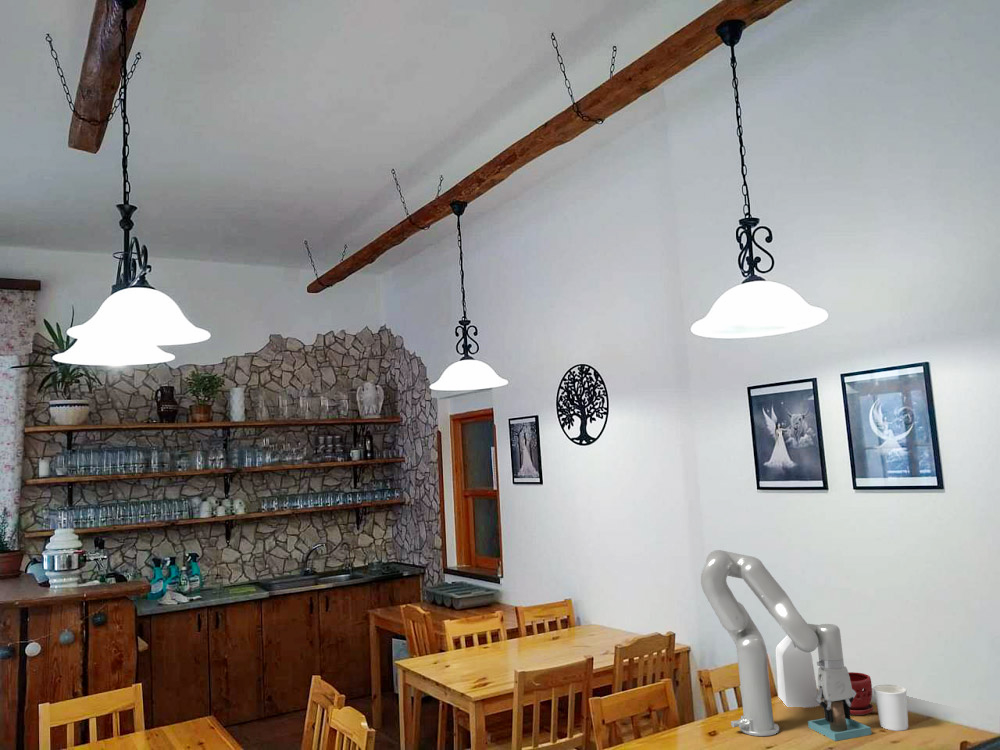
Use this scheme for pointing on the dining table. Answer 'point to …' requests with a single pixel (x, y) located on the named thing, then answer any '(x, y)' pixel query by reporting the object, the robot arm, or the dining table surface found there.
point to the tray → (852, 731)
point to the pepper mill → (838, 717)
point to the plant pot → (861, 694)
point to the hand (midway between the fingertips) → (838, 719)
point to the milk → (795, 675)
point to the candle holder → (892, 707)
